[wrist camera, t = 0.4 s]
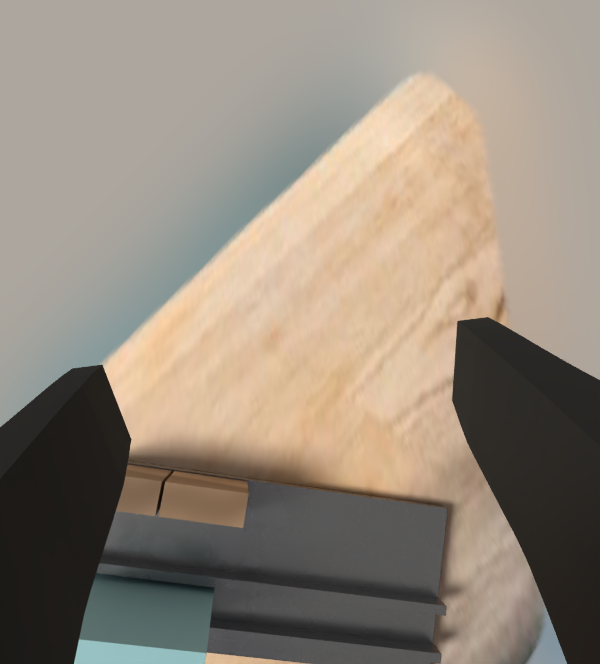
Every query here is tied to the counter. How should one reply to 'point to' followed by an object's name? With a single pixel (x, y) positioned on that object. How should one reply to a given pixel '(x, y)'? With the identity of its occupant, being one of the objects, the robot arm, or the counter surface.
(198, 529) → the rack
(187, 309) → the counter surface
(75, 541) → the robot arm
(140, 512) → the offcut
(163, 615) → the teal slab
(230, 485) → the offcut
